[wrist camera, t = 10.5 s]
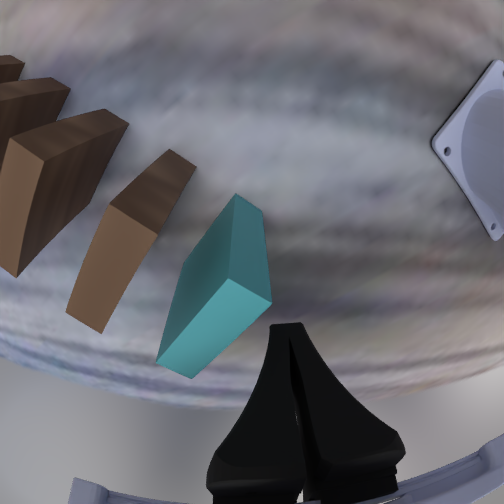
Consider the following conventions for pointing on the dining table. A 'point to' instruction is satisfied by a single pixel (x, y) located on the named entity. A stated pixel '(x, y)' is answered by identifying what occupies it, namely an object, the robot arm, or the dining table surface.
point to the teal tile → (218, 290)
